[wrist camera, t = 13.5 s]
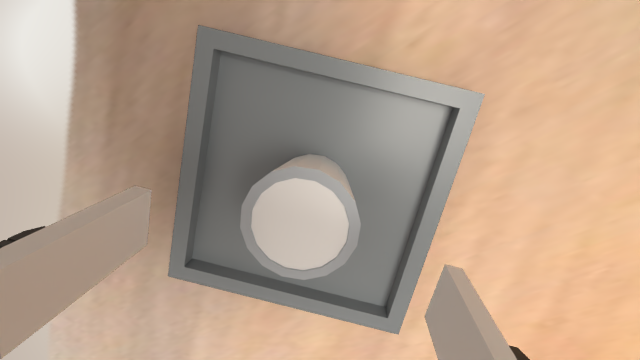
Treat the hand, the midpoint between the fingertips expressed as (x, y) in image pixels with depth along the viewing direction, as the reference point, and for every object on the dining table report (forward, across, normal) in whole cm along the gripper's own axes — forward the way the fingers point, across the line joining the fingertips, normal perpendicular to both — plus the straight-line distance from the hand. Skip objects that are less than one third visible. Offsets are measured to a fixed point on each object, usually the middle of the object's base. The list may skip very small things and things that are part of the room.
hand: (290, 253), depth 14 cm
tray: (+12, 0, -1) cm, 12 cm away
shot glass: (+11, 0, -1) cm, 11 cm away
